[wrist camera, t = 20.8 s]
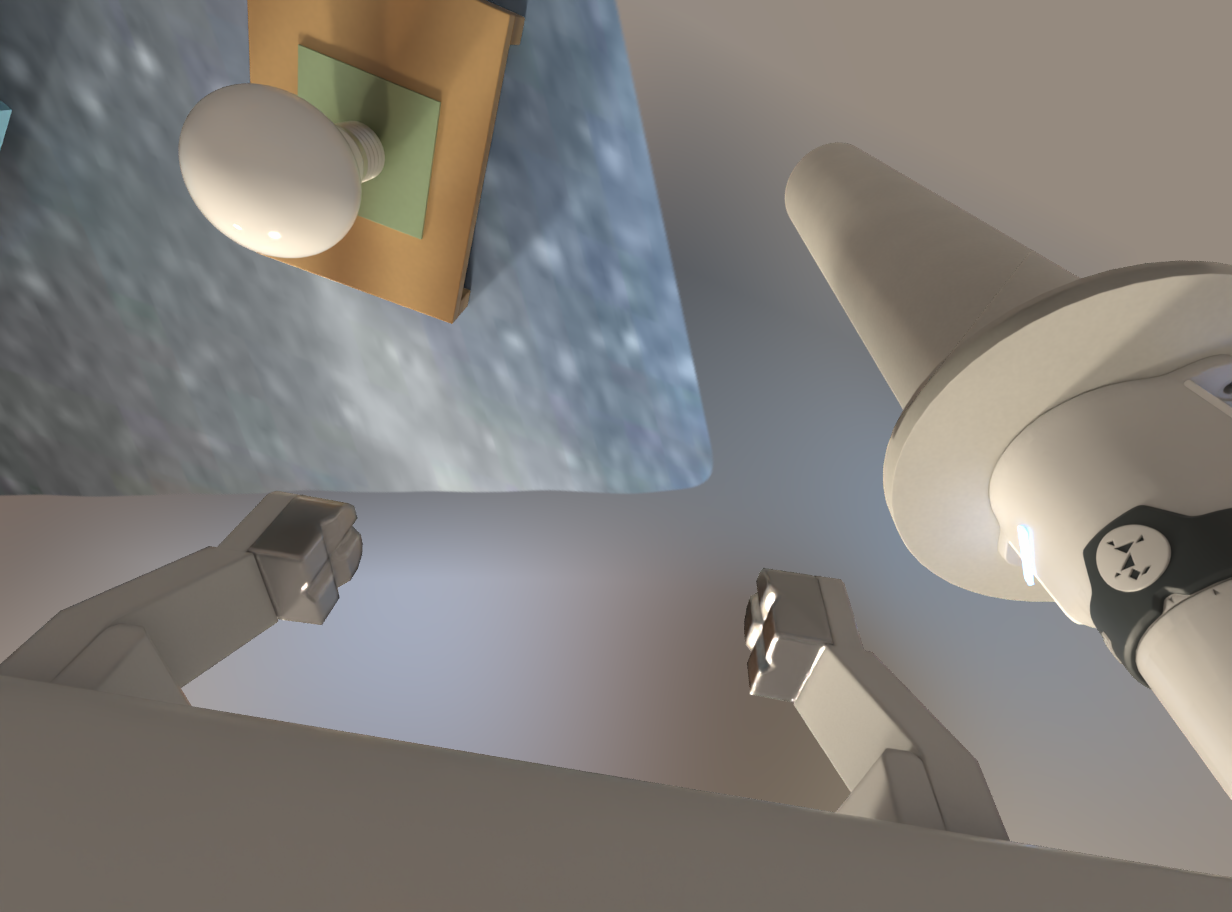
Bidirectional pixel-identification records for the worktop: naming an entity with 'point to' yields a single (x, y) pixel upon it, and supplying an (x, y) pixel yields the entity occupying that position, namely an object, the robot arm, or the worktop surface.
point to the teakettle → (4, 120)
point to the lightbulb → (276, 169)
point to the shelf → (398, 128)
